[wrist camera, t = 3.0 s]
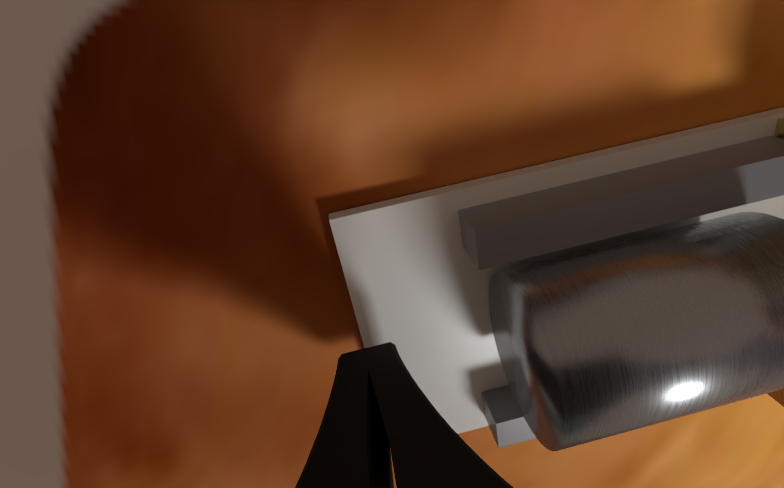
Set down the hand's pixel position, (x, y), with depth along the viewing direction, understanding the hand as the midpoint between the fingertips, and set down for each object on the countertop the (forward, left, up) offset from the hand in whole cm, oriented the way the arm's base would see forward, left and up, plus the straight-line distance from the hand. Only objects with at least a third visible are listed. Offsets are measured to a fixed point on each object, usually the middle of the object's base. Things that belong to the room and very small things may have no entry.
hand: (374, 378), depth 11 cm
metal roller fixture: (0, -10, -1) cm, 10 cm away
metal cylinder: (0, -6, -1) cm, 6 cm away
